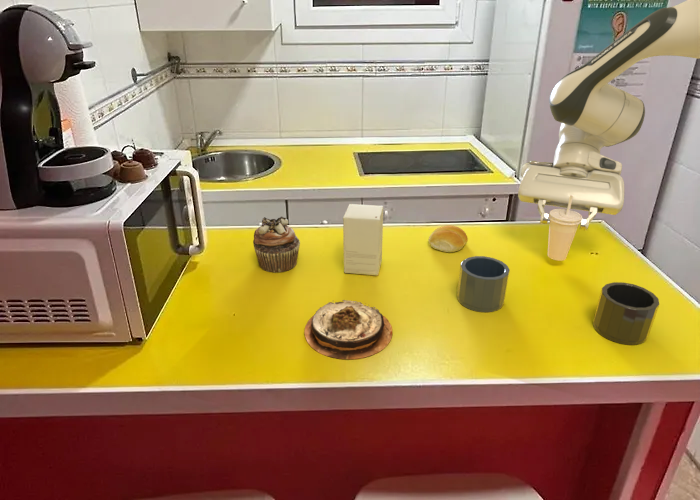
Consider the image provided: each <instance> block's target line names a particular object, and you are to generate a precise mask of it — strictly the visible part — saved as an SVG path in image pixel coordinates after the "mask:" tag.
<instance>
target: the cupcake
mask: <svg viewBox="0 0 700 500" xmlns="http://www.w3.org/2000/svg"><path fill="white" fill-rule="evenodd" d="M252 243H253V249H254V252H255V255H256V258H257V262H258V266H259V268H260V269H261V270H263V271H264V272H265V271H266V272H268V273H275V274H276V273H284V272H289V271H290V270H293V269H294V268H295V267H296V266H297V264H298V257H299V251H300V245H301V241H300V238H298V236H297V235H296V232H295V230H294V229H293V228H292V227H291V226H289V219H287V217H283V216H280V217H278V218H277V219H276V218H271V219H270V218H268V217H267V218H266V217H263V218H262V219H261V225H260V226H258V227H257V228H256V229H255V230H254V232H253V241H252Z"/></svg>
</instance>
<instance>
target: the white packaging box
mask: <svg viewBox="0 0 700 500" xmlns="http://www.w3.org/2000/svg"><path fill="white" fill-rule="evenodd" d="M342 226H343V227H342V228H343V229H342V230H343V232H342V233H343V235H342V236H343V272H344V274H354V275H364V276H365V275H366V276H379V274H380V269H381V265H382V261H383V238H384V237H383V233H384V205H377V204H376V205H373V204H360V203H359V204H357V203H349V204H348V206H347V209H346V210H345V213H344V215H343V216H342Z"/></svg>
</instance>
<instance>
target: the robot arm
mask: <svg viewBox="0 0 700 500" xmlns="http://www.w3.org/2000/svg"><path fill="white" fill-rule="evenodd" d="M661 56H662V57H663V56H665V57H666V56H668V57H669V56H671V57H672V56H673V57H685V58H691V59H697V60H698V59H700V0H683V2H680V3H678V4H676V5H673V6H669V7H662V8H659V9H656V10H655V11H654V12H652V13H649V14H648V15H647V16H646V17H644V18H643V19H641V20H640V21H638V22H637V23H636V24H634V25H633V26H632V27H631V28H629V29H628V30H626V31H625V32H624V33H623V34H621V35H620V36H619V37H617V39H615V40H614V41H612V42H611V43H610V44H609V45H608V46H606V47H604V48H603V49H602V50H601V51H600V52H599V53H597V54H596V55H595V56H593V57H592V58H591V59H589V60H588V61H587V62H586V63H584V64H583V65H581V66H579V67H577V68H576V69H573V70H572V71H570V72H568V73H567V74H566V75H564V76H563V77H562V78H560V79H559V80H558V81H557V83H556V84H555V85H554V87H553V89H552V90H551V92H550V95H549V97H548V98H549V99H548V103H549V108H550V112H551V115H552V117H553V119H554V121H555V122H559V123H560V126H559V131H558V140H559V141H558V144H557V145H556V148H555V152H554V156H553V160H552V162H548V161H538V160H530V161H528V162H526V163H524V164H523V165H522V167H521V171H520V176H521V180H520V184H519V187H518V191H517V197H518V199H519V201H520V202H522V203H529V204H536V205H537V207H536V209H537V211H538V214H539V216H540V220H539V224H541V225H548V222H549V213H547V212H545V207H546V206H550V207H557V208H562V209H567V208H568V203H569V198H570V195H573V199H572V203H571V208H570V210H576V211H577V210H578V211H584V212H587V213H588V214H587V215H588V217H587V218H585V219H584V218H582V220H581V223H580V224H579V230H581V231H588V230H589V226H590V223H591V222H592V220H594V219H595V218H596V216H597V214H598V213H599V214H605V215H612V216H616V215H618V214H619V213H620V212H622V209H623V207H624V204H625V203H624V202H625V181H624V178H623V176H622V175H621V174H622V170H623V163H622V162H620V161H618V160H615V159H612V158H610V157H607V156H605V155H603V154H601V150H602V148H604V147H608V148H609V147H612V146H615V145H619V144H622V143H624V142H626V141H628V140H630V139H632V138H634V137H635V136H636V135H638V134H639V132H640V130H641V129H642V126H643V123H644V120H645V117H646V108H645V104H644V101H643V100H642V99H640V98H638V97H637V96H635V95H634V94H631V93H629V92H628V91H625V90H623V89H621V88H618V87H616V86H614V85H612V84H610V82H612V81H613V80H615V79H616V78H617V77H618V76H620V75H621V74H623V73H624V72H626V71H627V70H628V69H629V68H631V67H633V66H634V65H635V64H636V63H638V62H640V61H643V60H646V59H648V58H652V57H661Z"/></svg>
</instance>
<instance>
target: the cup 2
mask: <svg viewBox="0 0 700 500" xmlns="http://www.w3.org/2000/svg"><path fill="white" fill-rule="evenodd" d="M659 307H660V301H659V298H658V296H656V295H655V294H654V293H653V292H652V291H650V290H648V289H646V288H645V287H643V286H640V285H637V284H634V283H629V282H623V281H622V282H621V281H620V282H617V281H616V282H615V281H614V282H609V283H606V284H605V285H604V286H603V287H602V288H601V290H600V294H599V298H598V302H597V305H596V309H595V313H594V316H593V321H592V325H593V329H594V330H595V331H596V332H597V333H598V335H600V336H601V337H603V338H605V339H607V340H608V341H611V342H614V343H616V344H620V345H625V346H626V345H627V346H637V345H638V346H639V345H642V344H644V343H645V342H646V341H647V340H648V337H649V336H650V333H651V330H652V327H653V324H654V322H655V318H656V315H657V312H658V310H659Z"/></svg>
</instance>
